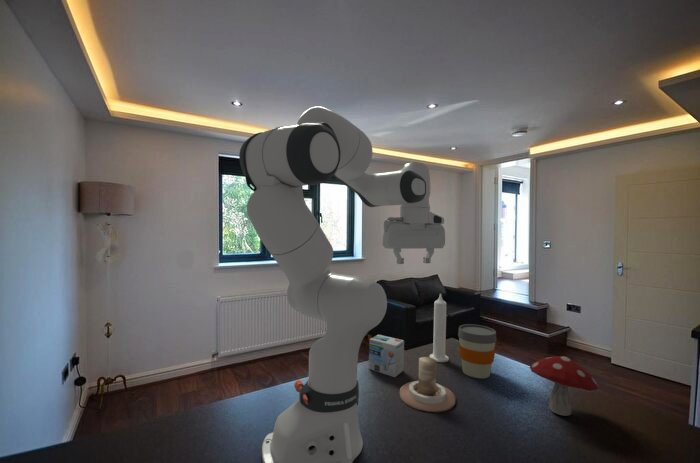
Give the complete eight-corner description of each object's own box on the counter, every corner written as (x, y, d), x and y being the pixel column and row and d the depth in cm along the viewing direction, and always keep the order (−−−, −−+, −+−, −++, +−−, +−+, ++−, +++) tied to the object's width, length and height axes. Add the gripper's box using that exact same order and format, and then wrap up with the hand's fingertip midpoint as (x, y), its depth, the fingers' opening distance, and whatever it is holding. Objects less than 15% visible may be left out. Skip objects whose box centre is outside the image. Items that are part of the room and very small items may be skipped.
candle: (449, 363, 119) (451, 296, 118) (429, 361, 120) (431, 295, 120) (447, 355, 126) (449, 292, 125) (429, 354, 127) (430, 291, 127)
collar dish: (419, 417, 84) (419, 408, 84) (389, 388, 99) (390, 380, 99) (467, 405, 90) (467, 397, 90) (433, 380, 105) (433, 373, 105)
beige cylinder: (424, 400, 91) (425, 365, 91) (414, 391, 96) (415, 358, 96) (439, 396, 93) (440, 362, 93) (428, 388, 98) (429, 355, 98)
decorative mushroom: (520, 393, 98) (522, 344, 98) (578, 399, 95) (580, 349, 95) (542, 424, 82) (543, 366, 82) (612, 433, 79) (614, 373, 79)
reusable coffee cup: (491, 366, 116) (492, 325, 116) (499, 383, 104) (500, 337, 104) (455, 362, 119) (456, 322, 119) (458, 378, 107) (460, 333, 107)
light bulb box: (367, 369, 112) (368, 338, 112) (377, 362, 118) (378, 333, 118) (395, 377, 106) (396, 345, 106) (404, 370, 112) (404, 340, 112)
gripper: (389, 216, 90) (388, 265, 90) (448, 218, 97) (447, 264, 98) (379, 217, 96) (378, 263, 96) (436, 219, 103) (435, 261, 103)
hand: (413, 263), depth 97 cm, fingers open, 8 cm apart
